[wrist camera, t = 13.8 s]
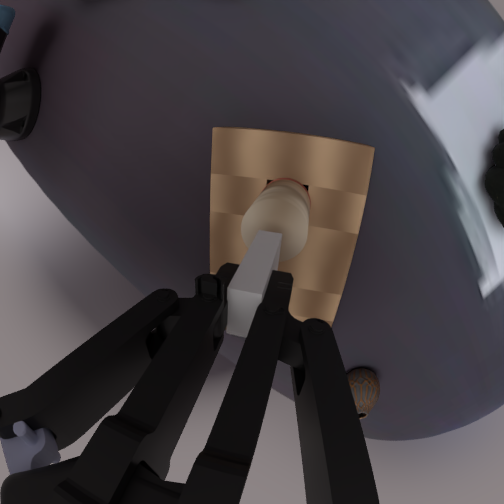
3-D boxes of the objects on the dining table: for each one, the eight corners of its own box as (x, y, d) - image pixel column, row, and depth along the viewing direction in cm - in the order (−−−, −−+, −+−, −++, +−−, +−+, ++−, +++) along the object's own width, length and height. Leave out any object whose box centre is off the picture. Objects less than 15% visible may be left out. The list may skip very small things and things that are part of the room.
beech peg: (264, 211, 32) (238, 256, 22) (268, 168, 29) (242, 194, 19) (307, 218, 31) (302, 267, 21) (314, 175, 28) (313, 204, 18)
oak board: (219, 309, 41) (211, 326, 37) (225, 126, 29) (212, 127, 25) (324, 328, 38) (324, 347, 35) (367, 144, 26) (374, 147, 22)
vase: (332, 375, 43) (330, 416, 35) (363, 357, 39) (366, 400, 32) (355, 389, 43) (355, 428, 36) (385, 373, 40) (389, 413, 32)
